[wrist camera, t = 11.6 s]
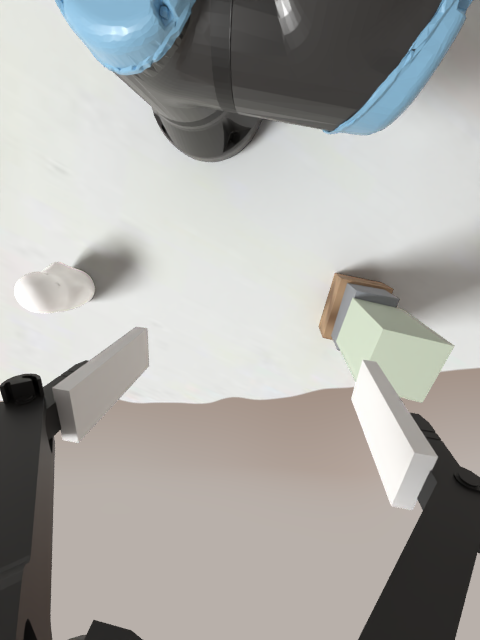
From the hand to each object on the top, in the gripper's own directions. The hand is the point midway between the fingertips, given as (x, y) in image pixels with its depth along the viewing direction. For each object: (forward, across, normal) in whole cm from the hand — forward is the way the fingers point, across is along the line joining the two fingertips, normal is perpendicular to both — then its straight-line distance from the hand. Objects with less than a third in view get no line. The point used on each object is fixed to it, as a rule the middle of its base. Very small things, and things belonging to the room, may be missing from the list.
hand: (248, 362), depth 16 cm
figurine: (+28, -33, -6) cm, 44 cm away
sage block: (+18, +13, -3) cm, 23 cm away
